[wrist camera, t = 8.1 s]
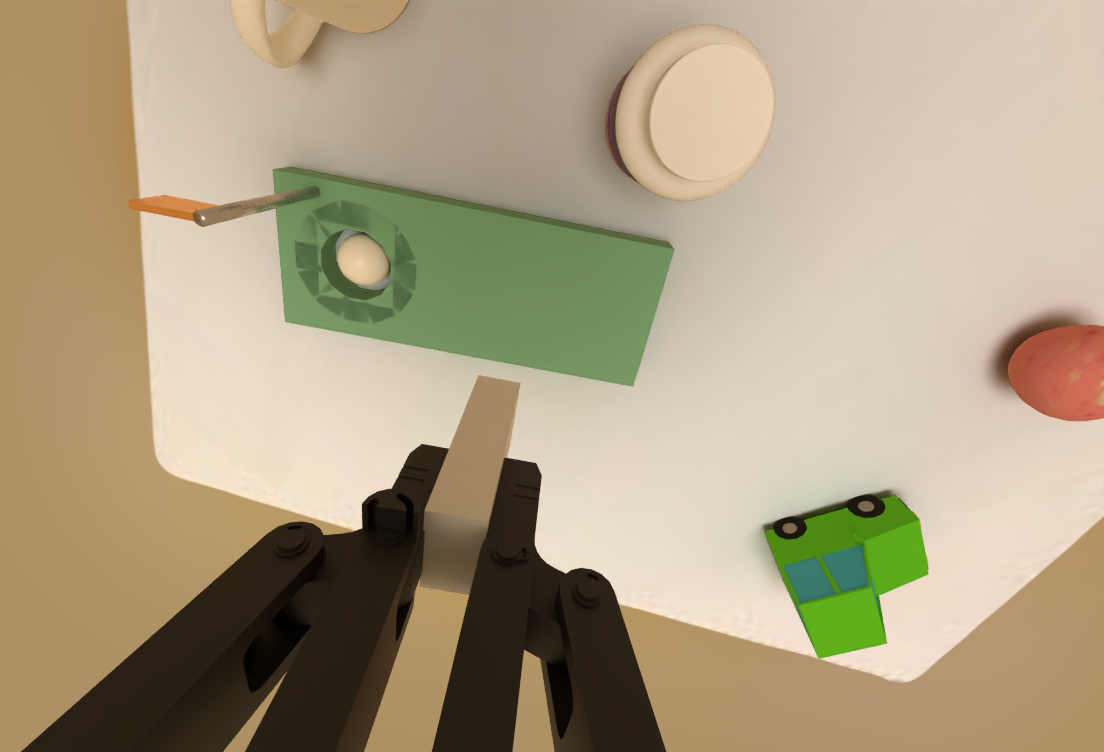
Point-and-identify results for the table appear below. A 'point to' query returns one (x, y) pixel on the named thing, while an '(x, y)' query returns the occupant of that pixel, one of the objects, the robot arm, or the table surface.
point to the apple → (1062, 372)
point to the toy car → (848, 569)
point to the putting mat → (472, 278)
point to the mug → (308, 24)
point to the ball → (363, 260)
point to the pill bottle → (692, 113)
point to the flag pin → (216, 214)
